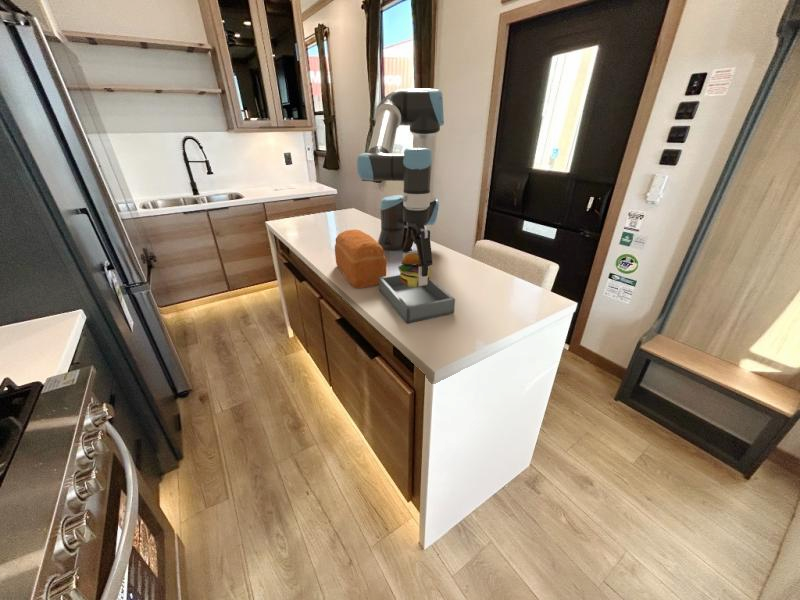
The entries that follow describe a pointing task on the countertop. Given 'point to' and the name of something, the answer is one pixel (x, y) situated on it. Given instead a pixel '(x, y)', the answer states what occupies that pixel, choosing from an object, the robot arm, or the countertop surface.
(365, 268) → the bread
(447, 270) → the countertop surface
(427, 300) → the box
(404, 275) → the cheeseburger
